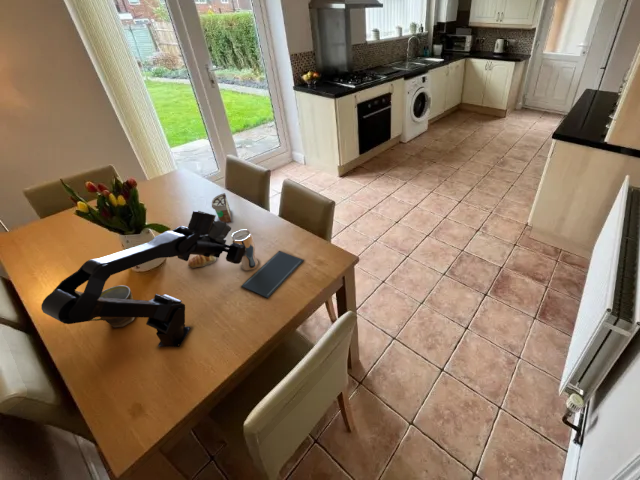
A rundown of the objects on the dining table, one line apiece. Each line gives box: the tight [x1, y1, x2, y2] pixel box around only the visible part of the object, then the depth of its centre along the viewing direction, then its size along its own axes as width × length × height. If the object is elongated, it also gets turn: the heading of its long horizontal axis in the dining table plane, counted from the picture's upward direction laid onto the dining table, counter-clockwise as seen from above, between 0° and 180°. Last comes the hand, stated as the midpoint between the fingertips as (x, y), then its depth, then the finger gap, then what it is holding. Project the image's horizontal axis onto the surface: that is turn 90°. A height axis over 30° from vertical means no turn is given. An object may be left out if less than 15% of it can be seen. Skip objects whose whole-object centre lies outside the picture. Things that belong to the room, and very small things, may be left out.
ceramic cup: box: [88, 284, 136, 328], centre depth 98 cm, size 13×10×10 cm
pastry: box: [187, 255, 217, 269], centre depth 122 cm, size 9×7×4 cm
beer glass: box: [230, 229, 259, 272], centre depth 117 cm, size 7×7×15 cm
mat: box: [241, 250, 304, 299], centre depth 118 cm, size 20×12×1 cm, turn 155°
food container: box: [211, 192, 232, 224], centre depth 144 cm, size 12×6×10 cm, turn 25°
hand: (236, 249), depth 113 cm, fingers open, 9 cm apart
